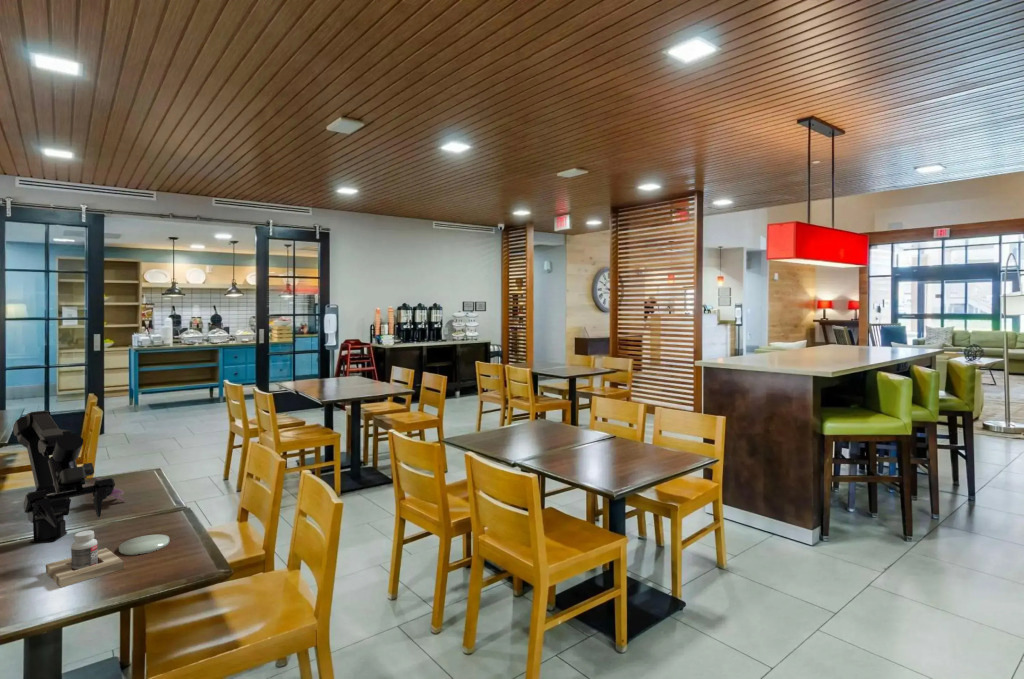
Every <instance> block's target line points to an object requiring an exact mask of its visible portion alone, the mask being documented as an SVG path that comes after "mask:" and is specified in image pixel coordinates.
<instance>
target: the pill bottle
mask: <svg viewBox="0 0 1024 679" xmlns="http://www.w3.org/2000/svg"><path fill="white" fill-rule="evenodd" d="M98 547H99V546H98V540H97V539H96V538H95V532H94V530H84V531H79V532H77V533H75V534H74V542H73V543H72V544H71V548H70V550H71V553H70V554H71V557H70V558H71V561H72V562H71V564H72V570H73V571H75V570H78V569H82V568H85V567H89V566H92V565H96V564H98V550H99V548H98Z"/></svg>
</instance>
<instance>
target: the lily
mask: <svg viewBox="0 0 1024 679" xmlns="http://www.w3.org/2000/svg"><path fill="white" fill-rule="evenodd" d="M95 478H96V480H99V479H101V478H100V477H98V476H95ZM124 494H125V491H123V490H122V489H121V488H118V487H115V486H114V489H113V491H112V494H111V495H109V496H108V497H114V499H115V498H116V499H115V500H118V499H120V500H121V501H122V502H124V503H126V501H125V499H124V498H123V497H122V496H121V495H124Z"/></svg>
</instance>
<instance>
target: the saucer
mask: <svg viewBox="0 0 1024 679" xmlns="http://www.w3.org/2000/svg"><path fill="white" fill-rule="evenodd" d="M169 544H170V536H168V535H166V534H148V535H146V534H145V535H141V536H137V537H134V538H130V539H127V540H126V541H124V542H122V543H121V544H119V546H118V553H119V552H120V553H121V554H120V553H119V554H120V555H123V554H124V555H123V556H138V554H140V555H144V554H145V553H146V554H150V553H153V551H154V552H156V550H157V551H159V550H162V549H164V548H165V547H166V546H168V545H169ZM161 548H162V549H161Z"/></svg>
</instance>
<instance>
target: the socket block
mask: <svg viewBox="0 0 1024 679" xmlns="http://www.w3.org/2000/svg"><path fill="white" fill-rule="evenodd" d="M71 558H72V557H69V558H65V559H64V558H63V559H62V560H57V561H54V562H50V563H47V564H45V572H46V574H47V576H49V577H50V578H51V579H52V580H53V581H54V582H55V583H56V585H57V586H58V587H59V588H60V589H62V588H65V587H68V586H71V585H74V584H78V583H80V582H84V581H87V580H91V579H94V578H97V577H101V576H105V575H108V574H111V573H114V572H118V571H121V570H124V560H123V559H121V558H120V557H119V556H117V555H116V554H115V553H113V552H112V551H111V550H109V548H107V547H104V548H101V549H98V564H96V565H92V566H89V567H85V568H82V569H78V570H75V571H73V570H72V564H71V562H72V561H71Z"/></svg>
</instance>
